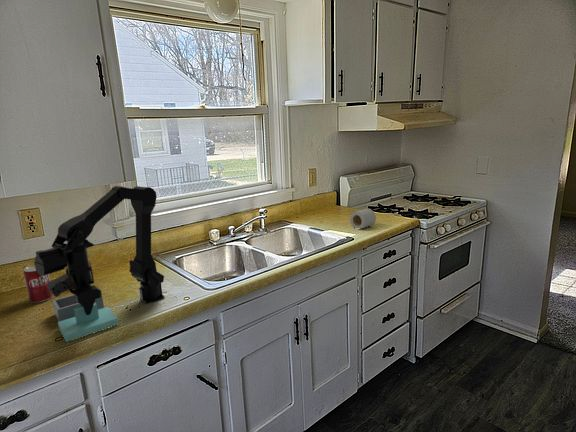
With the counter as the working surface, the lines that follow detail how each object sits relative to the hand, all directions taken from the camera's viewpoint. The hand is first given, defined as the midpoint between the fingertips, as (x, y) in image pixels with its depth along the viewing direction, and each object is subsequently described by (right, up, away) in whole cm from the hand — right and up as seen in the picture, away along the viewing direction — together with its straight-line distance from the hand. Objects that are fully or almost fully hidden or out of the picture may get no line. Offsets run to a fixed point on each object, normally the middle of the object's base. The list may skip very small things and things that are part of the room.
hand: (86, 312), depth 117 cm
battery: (-19, +3, +35) cm, 40 cm away
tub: (-8, -3, +11) cm, 13 cm away
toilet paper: (+103, +23, +98) cm, 144 cm away
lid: (0, -5, +1) cm, 5 cm away
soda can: (-28, -1, +22) cm, 35 cm away
